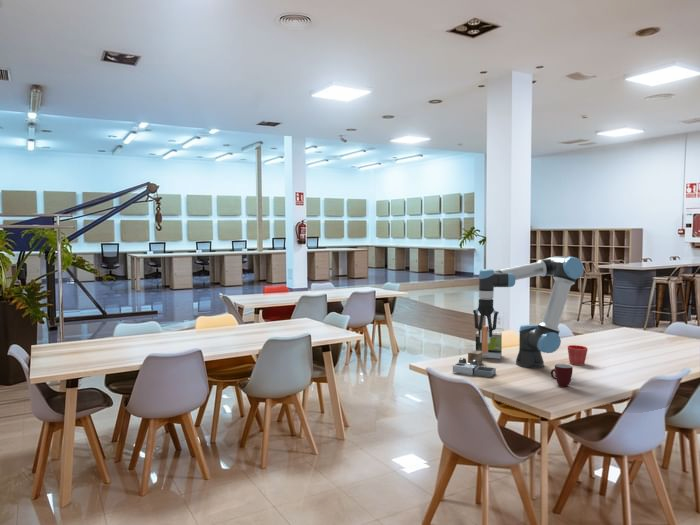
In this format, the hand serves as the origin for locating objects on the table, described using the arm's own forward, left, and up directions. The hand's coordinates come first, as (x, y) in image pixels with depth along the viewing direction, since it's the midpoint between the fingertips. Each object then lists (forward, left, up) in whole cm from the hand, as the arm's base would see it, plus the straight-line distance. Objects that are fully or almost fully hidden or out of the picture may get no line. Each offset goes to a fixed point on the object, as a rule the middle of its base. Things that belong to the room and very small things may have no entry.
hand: (485, 342), depth 276 cm
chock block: (+11, -20, -17) cm, 29 cm away
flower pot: (-39, -51, -18) cm, 67 cm away
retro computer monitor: (+10, -42, -18) cm, 47 cm away
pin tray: (0, 0, -17) cm, 17 cm away
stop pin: (0, 0, -6) cm, 6 cm away
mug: (-38, +1, -17) cm, 42 cm away
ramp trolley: (+10, -1, -17) cm, 20 cm away
